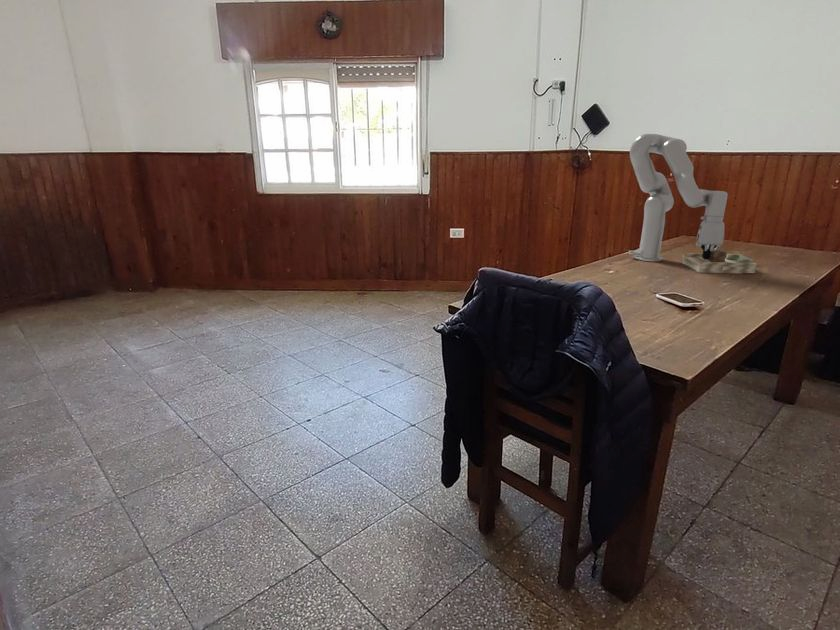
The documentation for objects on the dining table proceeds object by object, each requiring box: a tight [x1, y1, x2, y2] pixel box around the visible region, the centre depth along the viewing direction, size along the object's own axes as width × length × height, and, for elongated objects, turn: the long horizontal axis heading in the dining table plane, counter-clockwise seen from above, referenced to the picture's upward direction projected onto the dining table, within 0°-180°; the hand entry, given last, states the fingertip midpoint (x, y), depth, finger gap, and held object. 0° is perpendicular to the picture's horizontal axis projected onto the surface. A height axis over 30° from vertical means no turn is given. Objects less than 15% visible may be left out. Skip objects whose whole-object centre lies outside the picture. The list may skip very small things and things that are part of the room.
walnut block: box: [709, 249, 728, 262], centre depth 232 cm, size 5×5×5 cm
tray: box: [681, 252, 758, 274], centre depth 233 cm, size 24×19×6 cm
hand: (705, 258), depth 233 cm, fingers closed
